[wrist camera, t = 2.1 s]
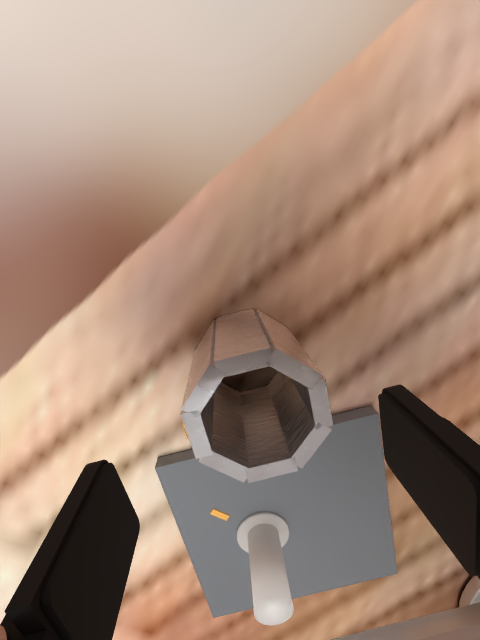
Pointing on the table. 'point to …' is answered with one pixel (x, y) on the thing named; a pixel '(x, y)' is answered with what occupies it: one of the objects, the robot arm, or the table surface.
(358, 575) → the flange
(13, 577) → the table surface
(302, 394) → the duct sleeve
